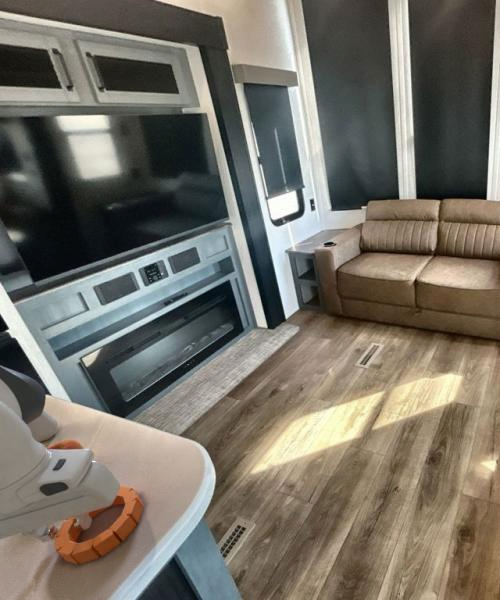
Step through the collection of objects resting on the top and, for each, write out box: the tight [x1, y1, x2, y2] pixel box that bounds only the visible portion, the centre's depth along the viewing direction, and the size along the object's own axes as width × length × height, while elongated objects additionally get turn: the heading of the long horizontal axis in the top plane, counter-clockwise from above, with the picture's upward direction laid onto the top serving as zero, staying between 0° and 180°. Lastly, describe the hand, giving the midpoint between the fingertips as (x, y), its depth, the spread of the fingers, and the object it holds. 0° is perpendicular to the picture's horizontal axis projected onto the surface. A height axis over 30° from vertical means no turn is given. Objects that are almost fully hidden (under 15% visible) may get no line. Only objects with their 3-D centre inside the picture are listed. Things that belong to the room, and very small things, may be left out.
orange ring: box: [53, 485, 144, 565], centre depth 64 cm, size 12×12×3 cm
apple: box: [46, 439, 85, 450], centre depth 75 cm, size 7×7×8 cm
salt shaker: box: [27, 409, 59, 443], centre depth 85 cm, size 6×6×13 cm
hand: (68, 531), depth 63 cm, fingers open, 4 cm apart
